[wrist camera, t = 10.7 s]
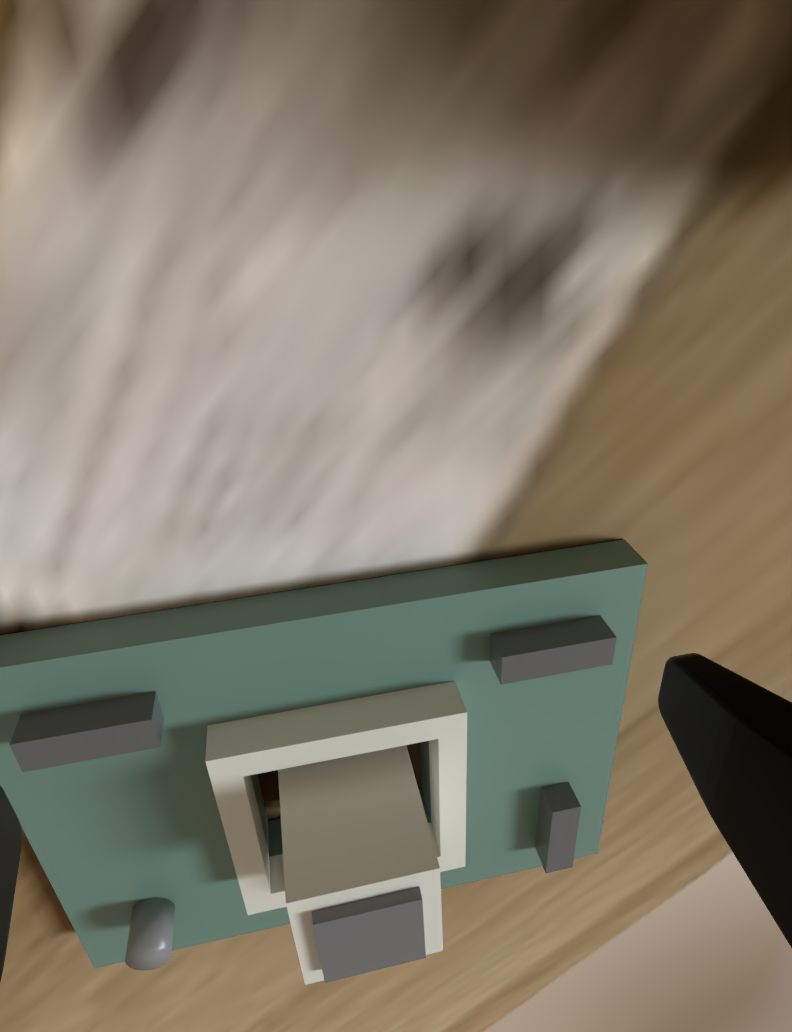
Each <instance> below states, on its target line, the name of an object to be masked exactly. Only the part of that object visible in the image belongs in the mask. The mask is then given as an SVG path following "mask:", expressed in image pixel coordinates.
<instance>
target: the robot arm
mask: <svg viewBox="0 0 792 1032" xmlns="http://www.w3.org/2000/svg"><path fill="white" fill-rule="evenodd" d="M658 704H659V709H660V713H661V715H662V718H663V720H664V722H665V724H666V726H667V728H668V730H669V732H670V734H671V736H672V738H673V740H674V742H675V744H676V746H677V749H678V751H679V753H680V755H681V757H682V759H683V761H684V763H685V765H686V767H687V769H688V771H689V773H690V775H691V777H692V780H693V782H694V784H695V786H696V788H697V790H698V792H699V794H700V796H701V798H702V800H703V802H704V804H705V806H706V808H707V810H708V811H709V813H710V815H711V817H712V818H713V820H714V822H715V824H716V825H717V827H718V829H719V830H720V832H721V834H722V835H723V837H724V838H725V840H726V842H727V843H728V845H729V847H730V848H731V850H732V852H733V853H734V855H735V856H736V858H737V860H738V861H739V863H740V865H741V866H742V868H743V869H744V871H745V873H746V874H747V876H748V878H749V879H750V881H751V882H752V884H753V886H754V887H755V889H756V890H757V892H758V894H759V896H760V897H761V899H762V900H763V902H764V904H765V905H766V907H767V909H768V910H769V912H770V913H771V915H772V917H773V918H774V920H775V922H776V923H777V925H778V926H779V928H780V930H781V931H782V933H783V935H784V936H785V938H786V939H787V941H788V943H789V944H790V946H791V947H792V702H790V701H788V700H786V699H784V698H782V697H780V696H778V695H776V694H774V693H772V692H771V691H769V690H767V689H765V688H763V687H761V686H759V685H757V684H755V683H753V682H752V681H750V680H748V679H746V678H744V677H742V676H740V675H738V674H736V673H734V672H733V671H731V670H729V669H727V668H725V667H723V666H721V665H719V664H717V663H715V662H713V661H712V660H710V659H708V658H706V657H704V656H702V655H700V654H696V653H690V654H685V655H679V656H674V657H671V658H669V659H668V661H667V662H666V664H665V668H664V673H663V678H662V683H661V687H660V692H659V697H658ZM21 846H22V828H21V824H20V821H19V819H18V817H17V815H16V813H15V811H14V809H13V807H12V805H11V803H10V801H9V799H8V798H7V796H6V794H5V792H4V790H3V788H2V787H1V785H0V981H1V977H2V972H3V967H4V961H5V955H6V949H7V942H8V935H9V928H10V922H11V915H12V908H13V901H14V894H15V887H16V880H17V873H18V866H19V859H20V852H21Z"/></svg>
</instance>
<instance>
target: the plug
mask: <svg viewBox="0 0 792 1032" xmlns="http://www.w3.org/2000/svg"><path fill="white" fill-rule="evenodd" d="M278 780H279V797H280V813H281V830H282V847H283V864H284V881H285V898H286V906H287V911H288V915H289V919H290V923H291V927H292V931H293V936H294V940H295V944H296V948H297V952H298V956H299V961H300V965H301V969H302V973H303V977H304V981H305V985H306V984H310V983H314V982H318V981H323V980H324V981H325V983H326V982H330V981H334V980H338V979H342V978H346V977H350V976H354V975H358V974H362V973H366V972H370V971H374V970H378V969H382V968H386V967H390V966H394V965H398V964H402V963H406V962H410V961H415V960H419V959H423V958H426V955H427V954H431V953H435V952H439V951H443V938H442V910H441V881H440V866H439V862H438V859H437V855H436V851H435V848H434V844H433V840H432V837H431V833H430V829H429V826H428V822H427V819H426V815H425V811H424V808H423V804H422V800H421V797H420V793H419V789H418V786H417V782H416V778H415V775H414V771H413V767H412V764H411V760H410V756H409V753H408V749H407V745H404V746H399V747H394V748H389V749H384V750H378V751H373V752H368V753H363V754H358V755H353V756H347V757H342V758H337V759H332V760H327V761H321V762H316V763H311V764H306V765H301V766H296V767H290V768H285V769H280V770H278Z"/></svg>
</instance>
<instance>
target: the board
mask: <svg viewBox="0 0 792 1032" xmlns="http://www.w3.org/2000/svg"><path fill="white" fill-rule="evenodd" d="M647 565H648V563H647V562H646V561H645V560H644V559H643V558H642V557H641V556H640V555H639V554H638V553H637V552H636V551H635V550H634V549H633V548H632V547H631V546H630V545H629V544H628V543H627V542H626V540H625V539H624V540H618V541H611V542H605V543H598V544H592V545H585V546H579V547H572V548H566V549H559V550H553V551H546V552H540V553H533V554H527V555H520V556H514V557H507V558H501V559H494V560H488V561H481V562H475V563H468V564H462V565H455V566H448V567H442V568H435V569H429V570H422V571H416V572H409V573H403V574H396V575H390V576H383V577H377V578H370V579H364V580H357V581H351V582H344V583H338V584H331V585H325V586H318V587H312V588H305V589H299V590H292V591H286V592H279V593H273V594H266V595H260V596H253V597H247V598H240V599H234V600H227V601H221V602H214V603H208V604H201V605H195V606H188V607H182V608H175V609H169V610H162V611H156V612H149V613H143V614H136V615H130V616H123V617H117V618H110V619H103V620H97V621H90V622H84V623H77V624H71V625H64V626H58V627H51V628H45V629H38V630H32V631H25V632H19V633H12V634H6V635H0V785H1V787H2V788H3V790H4V792H5V794H6V796H7V798H8V799H9V801H10V803H11V805H12V807H13V809H14V811H15V813H16V815H17V817H18V819H19V821H20V824H21V827H22V829H23V831H24V833H25V835H26V837H27V839H28V840H29V842H30V844H31V846H32V848H33V850H34V852H35V854H36V856H37V858H38V860H39V862H40V864H41V866H42V868H43V870H44V872H45V873H46V875H47V877H48V879H49V881H50V883H51V885H52V887H53V889H54V891H55V893H56V895H57V897H58V899H59V901H60V903H61V904H62V906H63V908H64V910H65V912H66V914H67V916H68V918H69V920H70V922H71V924H72V926H73V928H74V930H75V932H76V934H77V936H78V937H79V939H80V941H81V943H82V945H83V947H84V949H85V951H86V953H87V955H88V957H89V959H90V961H91V963H92V965H93V967H94V968H98V967H102V966H107V965H111V964H115V963H120V962H124V961H125V962H126V964H127V965H128V966H129V967H130V968H132V969H136V970H152V969H156V968H159V967H161V966H163V965H165V964H166V963H167V962H168V961H169V960H170V958H171V951H172V950H177V949H181V948H185V947H190V946H194V945H198V944H203V943H207V942H212V941H216V940H220V939H225V938H229V937H233V936H238V935H242V934H247V933H251V932H255V931H260V930H264V929H268V928H273V927H277V926H282V925H286V924H290V919H289V915H288V911H287V906H286V898H285V881H284V864H283V847H282V830H281V818H280V819H275V820H270V821H268V819H267V814H266V810H265V805H264V801H263V796H262V792H261V787H260V783H259V778H258V774H259V773H265V772H270V771H275V770H280V769H285V768H290V767H296V766H301V765H306V764H311V763H316V762H321V761H327V760H332V759H337V758H342V757H347V756H353V755H358V754H363V753H368V752H373V751H378V750H384V749H389V748H394V747H399V746H404V745H409V744H415V743H420V751H421V777H422V790H419V793H420V797H421V800H422V804H423V808H424V811H425V815H426V819H427V822H428V826H429V829H430V833H431V837H432V840H433V844H434V848H435V851H436V855H437V859H438V862H439V866H440V881H441V889H444V888H448V887H452V886H457V885H461V884H465V883H470V882H474V881H479V880H483V879H487V878H492V877H496V876H500V875H505V874H509V873H514V872H518V871H522V870H527V869H531V868H536V867H540V866H543V868H544V870H545V872H546V873H549V872H553V871H558V870H562V869H566V868H571V867H572V866H573V859H575V858H579V857H584V856H588V855H592V854H597V852H598V847H599V841H600V835H601V829H602V824H603V818H604V812H605V806H606V801H607V795H608V789H609V784H610V778H611V772H612V766H613V761H614V755H615V749H616V743H617V738H618V732H619V726H620V720H621V715H622V709H623V703H624V697H625V692H626V686H627V680H628V674H629V669H630V663H631V657H632V651H633V646H634V640H635V634H636V629H637V623H638V617H639V611H640V606H641V600H642V594H643V588H644V583H645V577H646V571H647Z"/></svg>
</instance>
